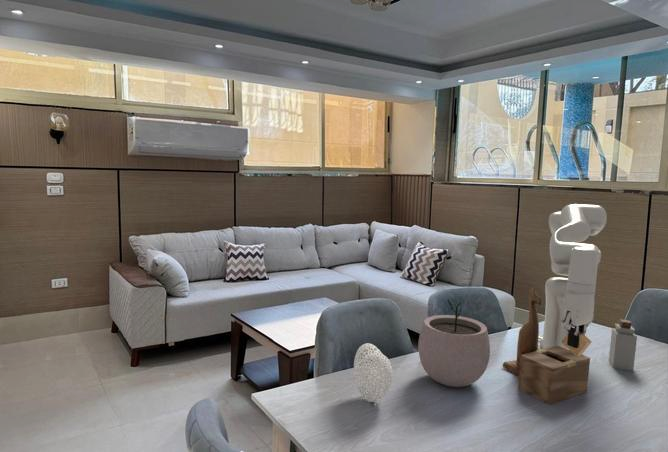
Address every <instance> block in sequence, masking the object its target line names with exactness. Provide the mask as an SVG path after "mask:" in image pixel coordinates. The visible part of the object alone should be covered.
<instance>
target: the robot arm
mask: <svg viewBox="0 0 668 452" xmlns="http://www.w3.org/2000/svg"><path fill="white" fill-rule="evenodd" d="M607 218H608V216H607V211H606V210H605V208H604V207H602V206H601V205H597V204H579V203H578V204H577V203H573V204H567V205H565V206H564V207H562V208H561V211H556V212H555V211H554V212H552V213H551V214H550V215H549V218H548V227H549V230H550V233H551V236H550V239H549V256H550V260H551V262H550V263H551V271H552V272H553V273H554V274H555V275H558V277H557V276H556V277H554V276H553V277H550V278H548V279H547V280H546V282H545V284H544V285H545V286H544V290H545V292H544V293H545V311H544V313H545V314H544V324H543V335H542V336H540V335H539V337H538V350H542V349H546V348H550V347H554V346H560V347H562V348H565V349H568V348H567V347H566V346H565V345H564V344H563V343H562V342H561V341H562V340H563V339H564V337H565V336H566V335H567V333H568V341H567V345H569V346H571V347H574V348H578V342H579V336H578V330H579V331H580V332H582V333H583V334H584V335H585V334H587V329H588V327H589V326H590V324H591V323H592V322H593V320H594V315H595V295H596V288H597V287H596V286H597V275H598V266H599V264H600V262H601V258H602V252H601V250H600V249H599V247H598V246H597V245H595V244H592V243H583V242H584V241H586V240H587V239H588V238H590V237H589V236H597V235H598V234H599V233H600V232H601V231H602V230H603V229H604V228H605V226H606V224H607V220H608V219H607ZM559 276H560V277H559ZM561 276H567V277H561ZM574 328H575V329H574ZM585 336H586V335H585ZM538 350H537V351H538ZM568 350H569V349H568Z"/></svg>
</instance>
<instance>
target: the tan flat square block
mask: <svg viewBox="0 0 668 452" xmlns="http://www.w3.org/2000/svg"><path fill="white" fill-rule="evenodd" d="M573 328H574V329H575V327H573ZM578 336H579V342H578V348H574V347H571V346H569V345H567V341H568V333H567V335H566V336H565V337H564V339H563V340H562V341H561V342H562V343H563V344H564V345H565V346H566V347H567V348H568V349H569V350H570V351H571V352H572V353H573V354H574V355H575V356H576V357H577V356H581V355H584V352H585V351H586V350H587V349H588V348H589V346H590V345H591V344H592V340H590V339H589V337H588V336H586V335H584V334H583V333H582V332H580V331H579V330H578Z"/></svg>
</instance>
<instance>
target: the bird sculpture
mask: <svg viewBox="0 0 668 452" xmlns="http://www.w3.org/2000/svg"><path fill="white" fill-rule="evenodd" d="M536 290H537V289H536V288H534V287H533V288H530V289H529V291H528V294H527V296H528V306H529V310H528V321H526V322H525V323H524V324H523V325H522V326H521V328H520V329H519V331H518V337H517V349H516V360H508V361H504V362H503V363H502V368H504V370H507V372H508V371H509V372H510V373H512V374H513V375H515V376H516V377H519V367H520V355H523V354H527V353H531V352H535V351H538V346H539V342H538V337H539V336H540V335H539V334H540V330H539V329H540V327H539V326H540V324H539V323H540V322H539V315H538V310H537V306H536V304H537V305H538V306H541V305H542V299H541V297H540V296H539V295H538V293H537V291H536Z"/></svg>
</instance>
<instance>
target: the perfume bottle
mask: <svg viewBox="0 0 668 452" xmlns="http://www.w3.org/2000/svg"><path fill="white" fill-rule="evenodd" d="M614 325H615V328H611V336H610V343H609V353H608V355H609V356H608V363H609V364H610V365H611V367H612V368H613V369H621V370H626V371H627V370H628V371H634V370H635V369H634V368H635V358H636V350H637V340H638V336H637V335H636V334H635V332H636V329H635V328H634V326H632V321H630V320H627V319H620V318H619V323H614Z"/></svg>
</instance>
